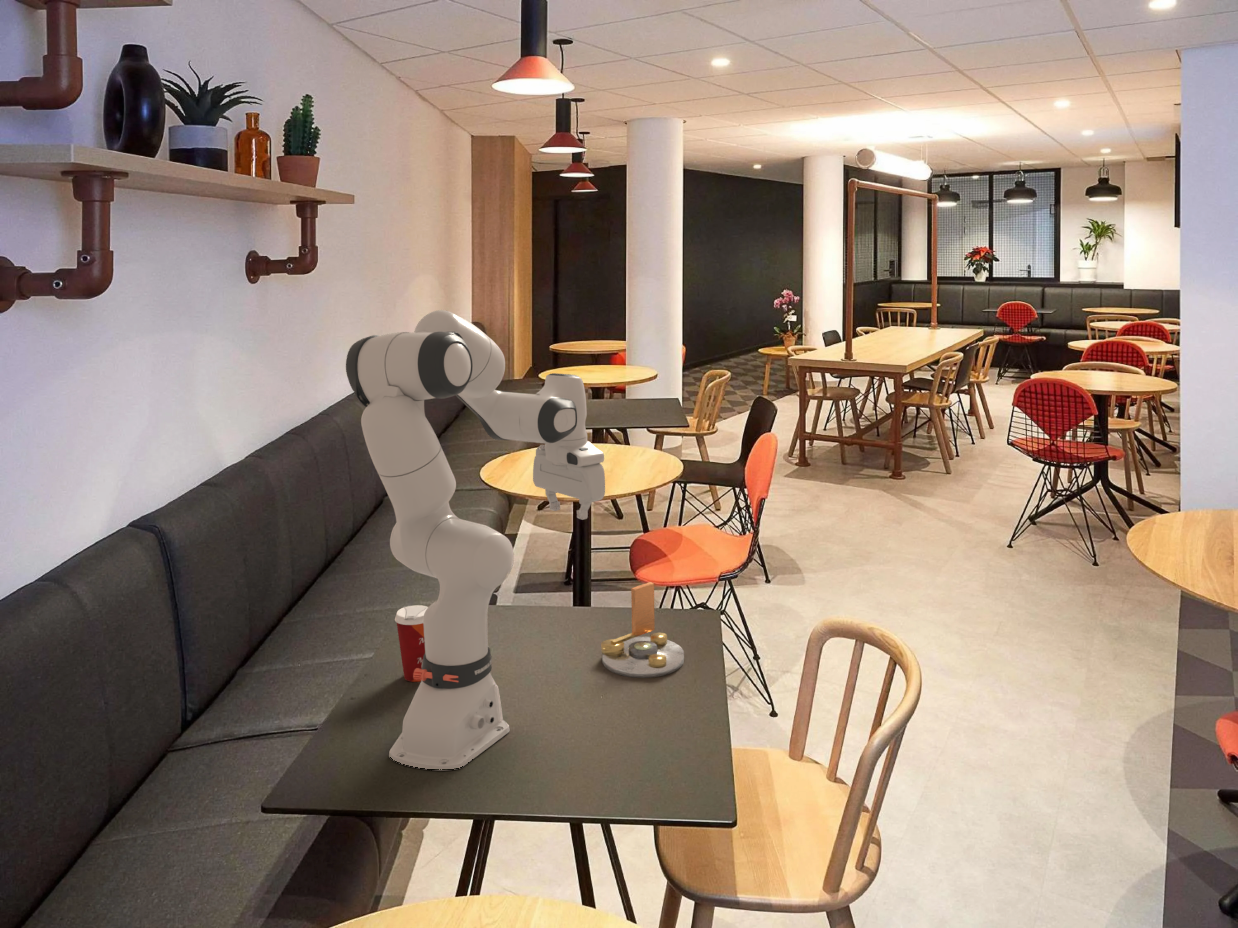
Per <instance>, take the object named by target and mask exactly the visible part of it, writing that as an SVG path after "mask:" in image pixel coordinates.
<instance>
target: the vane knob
mask: <svg viewBox="0 0 1238 928" xmlns="http://www.w3.org/2000/svg"><path fill="white" fill-rule="evenodd" d="M630 593H631V594H630V596H631V602H630V603H631V632H630V633H628V634H625V635H622V636H619V637H617V638H612V639H611V638H609V639H606V640H603V641H601V643H600V645H601V646H600V647H601V649H600V650H601V651H600V652H601V654H604V655H606V656H618V655H621V654H623V653H624V641H627V640H629V639H632V638H635V637H641V636H642V635H645V634H647V633H650V632H653V631H655V630H656V629H655V625H656V623H655V622H656V621H655V619H656V618H655V583H654V582H651V581H649V582H646V583H643V584H639V585H637V586H635V587H631V588H630Z"/></svg>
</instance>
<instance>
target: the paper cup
mask: <svg viewBox="0 0 1238 928" xmlns="http://www.w3.org/2000/svg"><path fill="white" fill-rule="evenodd" d="M428 607H429V606H427V605H421V604H417V605H408V606H404V607H401V608H399V609H398V610H397V612H396V615H395V616H394V617H395V618H394V621H395V623H396V628H397V629H396V630H397V636H398V642H399V643H398V644H399V648H400V649H399V651H400V656H401V657H400V658H401V663H402V664H401V665H402V671H403V678H404V680H405V681H407V682H411V683H421V680H414V677H413V673H414V670H415V669H416V668H419V669H422V662H423V657H424V654H425V640H424V626H423V616H424V613H425V611H426V610H427V608H428Z"/></svg>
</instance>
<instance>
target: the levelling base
mask: <svg viewBox="0 0 1238 928" xmlns="http://www.w3.org/2000/svg"><path fill="white" fill-rule="evenodd" d="M601 654H602V653H601ZM601 658H602V660H601V661H602V665H603V666H604V667H605V668H606V669H607V670H608V671H609V672H612V673H614V674H616V675H618V676H624V677H629V678H638V679H647V678H649V679H650V678H657V677H663V676H665V675H670V674H672V673H675V672H676V671H677V670H679V669H680V668H681V667H682V666H683V665H684V661H685V651H684V649H683V648H682V647H681V646H680V645H679V644H677V643H676V642H674V641H671V640H669V639H668V635H667V633H664V632H653V633H651V634H650V636H637V637H635V638H632V639H629V640H627V641H624V653H623V654H621V655H618V656H606V655H604V654H602V657H601Z"/></svg>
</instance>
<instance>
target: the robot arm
mask: <svg viewBox="0 0 1238 928" xmlns="http://www.w3.org/2000/svg"><path fill="white" fill-rule="evenodd" d="M505 371H506V359H505V355H504V353H503V351H502V349H501V348H500V347H499V346H498V344H497V343H496V342H495V341H494V340H493V339H492V338H491V337H489V336H488V335H487V334H486V333H485V332H483V331H482V330H481V329H480V328H479V327H478V326H476V325H474V324H473V323H471V322H470V321H469V320H468V319H465V318H464V317H462V316H460V315H458V314H456V313H454V312H452V311H449V310H446V309H445V310H444V309H439V310H434V311H431V312H429V313H428V314H425V315H424V316H423V317H422V318H421V319H419V321H418V323H417V325H416V326H415V327H414V331H413V332H410V331H401V332H393V333H387V334H383V335H382V334H381V335H378V334H373V335H369V336H366V337H364V338H361V339H359V340H357V341H356V342H354V343H353V344H352V345H351V346H350V347H349V349H348V351H347V354H346V359H345V372H346V373H345V374H346V376H347V381H348V383H349V385H350V387H351V389H352V391H353V392H354V396H355V398H356V399H357V401H358V402H359V403H360V404H361V405H362V406H363V407H365V408H364V409H363V411H362V415H361V419H360V423H361V424H360V425H361V429H362V434H363V437H364V440H365V445H366V447H367V450H368V453H369V455H370V459H371V461H372V463H373V466H374V468H375V470H376V472H377V475H378V476H379V478H380V480H381V483H382V485H383V487H384V489H385V491H386V493H387V496H388V498H389V500H390V502H391V506H392V508H393V511H394V515H395V521H396V523H395V524H394V526H393V527H392V530H391V534H390V538H389V547H390V551H391V553H392V556H393V557H394V558H395V560H397V561H398V562H400V563H401V565H404V566H405V567H407V568H408V569H410V570H412V571H413V572H415V573H418V574H420V575H421V574H422V575H425V576H427V577H430V578H435V579H437V581H438V583H439V592H438V593H439V594H438V597H437V600H435V601H434V602H433V603H431V604H430V605H429V606H427V607H428V608H427V610H426V611H425V613H424V616H423V626H424V640H425V654H424V657H423V662H422V669H419V668H416V669H415V670H414V673H413V677H414V680H421V682H419V685H418V687H417V689H416V691H415V694H414V695H413V698H412V700H411V703H410V704H409V706H408V709H407V710H406V713H405V715H404V717H403V720H402V731H401V733H400V735H399V736H398V738H397V739H396V740H395V742H394V743H393V745H392V747H391V748H390V750H389V752H388V753H389V754H388V757H389V758H390V757H391V758H392V759H393V760H392V759H391V758H390V759H391V760H392V761H394V760H395V761H397V762H400V763H401V764H400V763H399V764H400V765H403V764H405V765H404V766H406V765H409V766H408V767H410V766H413V767H412V768H415V767H418V768H417V769H420V768H425V769H424V770H427V769H439V770H438V771H443V770H442V769H454V768H459V769H461V768H460V767H462V766H463V767H465V766H466V765H467V764H469V763H470V762H471V761H472V759H473V760H474V759H476V758H477V757H478V756H479V755H480V754H483V752H484V751H485V750H486V751H487V749H489V748H490V747H491V746H493V745H494V744H495V743H496V742H498V741H499V740H501V739H502V738H503V737H504V736H506V735H507V734H508V733H510V725H509V724H508V723H507V721H505V720H504V718H503V709H502V703H501V696H500V695H501V694H500V689H499V688H500V687H499V686H498V684H497V683H496V681H495V679H494V677H493V676H492V673H491V671H492V670H493V669H492V667H493V666H492V664H493V663H492V662H493V658H492V657H493V656H492V654H491V649H490V647H489V643H488V642H489V641H488V639H489V638H488V610H489V609H488V608H489V605H490V600H491V598H492V595H493V593H494V592H495V590H496V588H498V587H499V586H501V585H502V584H503V583H504V582H505V581H506V579H507V578H508V577H509V575H510V574H511V571H512V569H513V565H514V561H515V560H514V559H515V556H514V555H515V554H514V553H515V552H514V548H513V544H512V542H511V541H510V539H509V538H508V537H507V536H505V535H504V534H502V533H500V531H497V530H496V529H494V528H492V527H490V526H488V525H485V524H482V523H478V522H476V521H475V522H474V521H470V520H467V519H466V520H465V519H462V518H459V517H458V516H457V515H456V514H455V513H454V512H453V511H452V508H451V506H450V501H451V499H452V498H453V496H454V494H455V491H456V488H457V482H456V478H455V475H454V473H453V471H452V469H451V466H450V464H449V461H448V459H447V457H446V454H445V452H444V451H443V448H442V446H441V444H440V441H439V438H438V437H437V435H436V433H435V430H434V429H433V427H432V425H431V423H430V422H429V420H428V419H427V417H426V412H425V400H431V399H432V400H433V399H438V400H442V399H447V398H451V397H454V396H455V397H456V398H457V399H458V400H459V401H460V402H461V403H463V404H464V405H465V406H466V407H467V408H468V409H469V410H470V411H471V412H472V413H473V414H474V415H475V416H476V418H477V419H478V420H479V422H480V424H481V426H482V427H483V429H484V430H485V432H486V433H487V435H488V436H489V437H490V438H492V439H493V440H496V441H517V442H525V443H537V444H539V446H537V447H536V448H537V449H535V456H534V459H533V469H532V481H533V484H534V486H535V487H536V488H540V489H543V490H545V491H544V492H545V496H546V498H547V501H548V502H549V510H551V511H553V512H558V511H560V510H561V502H560V501H558V498H557V497H558V496H557V494H560V495H564V496H567V497H571V498H575V499H578V503H579V504H580V508H579V509H577V510H576V518H577V519H579V520H582V521H583V520H587V519H588V518H589V516H588V515H589V513H588V512H589V509H590V507H591V505H592V503H594V502H599V501H602V500H603V499H604V497H605V494H606V476H605V469H604V466H603V464H601V463H603V462H604V461H605V454H604V452H603V451H602V450H600V449H599V448H597V447H596V446H595V445H594V444H593V443H591V442H590V441H589V440H588V432H587V429H586V420H587V415H588V413H587V395H586V389H585V385H584V381H583V379H582V377H580V376H579V375H577V374H569V373H557V372H556V373H549V374H547V375H546V377H545V380H544V385H543V386H542V388H541V389H540V390H539V391H537V392H536V393H524V392H523V393H522V392H511V391H507V390H506V391H505V390H500V389H499V390H497V387H498V386H499V385H500V384H501V382H502V380H503V378H504V375H505ZM395 761H394V762H395ZM397 762H396V763H397ZM468 762H469V763H468ZM463 767H462V768H463ZM440 769H441V770H440ZM454 770H455V769H454Z"/></svg>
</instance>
